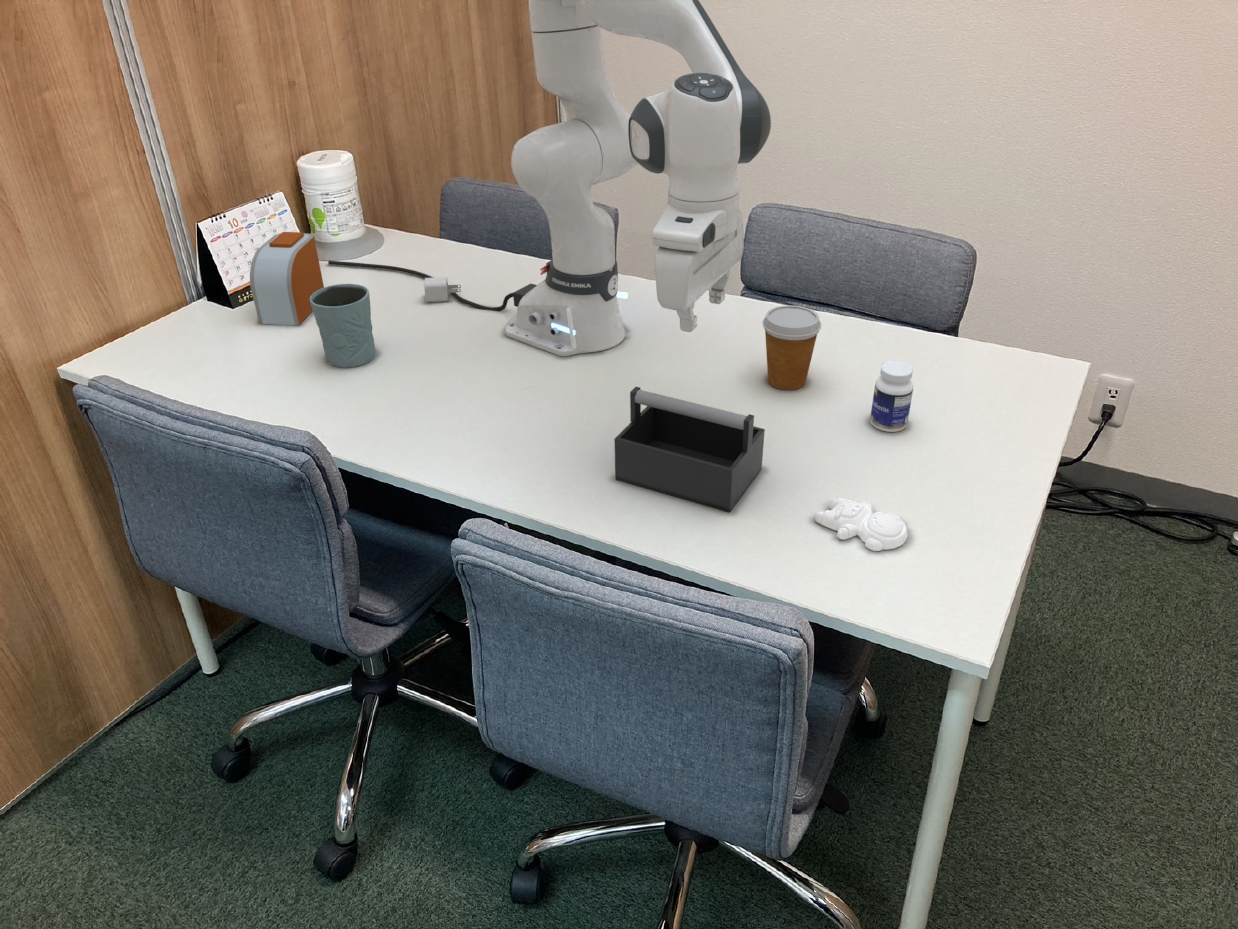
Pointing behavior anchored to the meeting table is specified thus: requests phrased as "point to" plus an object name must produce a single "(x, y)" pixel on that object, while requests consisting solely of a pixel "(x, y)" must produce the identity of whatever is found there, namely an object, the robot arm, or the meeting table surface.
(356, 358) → the green embossed cup
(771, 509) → the meeting table surface
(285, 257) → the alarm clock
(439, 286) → the usb wall charger
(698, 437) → the black bin
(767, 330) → the disposable coffee cup
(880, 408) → the pill bottle
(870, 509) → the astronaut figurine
